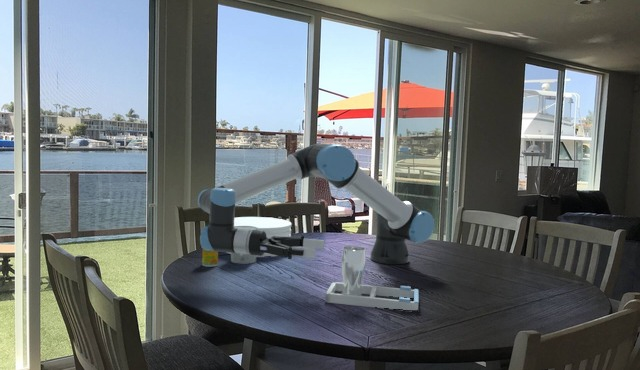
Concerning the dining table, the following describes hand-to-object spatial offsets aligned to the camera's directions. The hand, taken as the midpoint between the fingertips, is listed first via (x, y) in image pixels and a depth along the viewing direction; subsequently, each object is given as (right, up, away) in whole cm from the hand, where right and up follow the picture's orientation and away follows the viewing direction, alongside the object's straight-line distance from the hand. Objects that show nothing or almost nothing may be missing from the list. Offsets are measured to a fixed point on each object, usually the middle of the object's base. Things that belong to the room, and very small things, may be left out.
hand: (320, 249), depth 151 cm
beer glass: (+9, -15, 0) cm, 17 cm away
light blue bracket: (+26, -16, -3) cm, 30 cm away
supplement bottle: (-39, -10, +30) cm, 50 cm away
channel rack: (+15, -15, -1) cm, 21 cm away
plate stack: (-26, -8, +60) cm, 66 cm away
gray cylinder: (-29, -9, +39) cm, 49 cm away
